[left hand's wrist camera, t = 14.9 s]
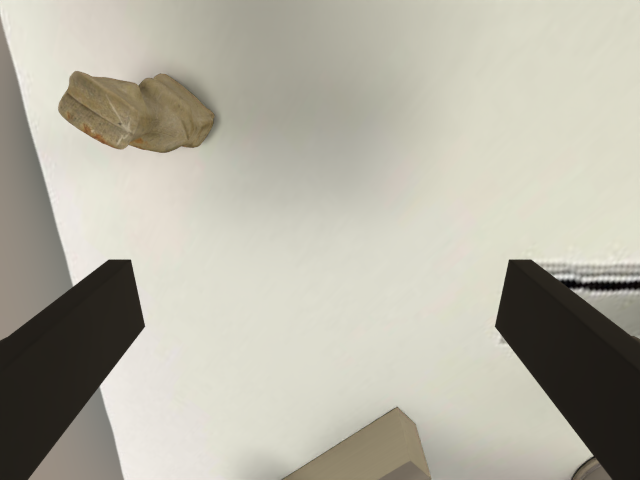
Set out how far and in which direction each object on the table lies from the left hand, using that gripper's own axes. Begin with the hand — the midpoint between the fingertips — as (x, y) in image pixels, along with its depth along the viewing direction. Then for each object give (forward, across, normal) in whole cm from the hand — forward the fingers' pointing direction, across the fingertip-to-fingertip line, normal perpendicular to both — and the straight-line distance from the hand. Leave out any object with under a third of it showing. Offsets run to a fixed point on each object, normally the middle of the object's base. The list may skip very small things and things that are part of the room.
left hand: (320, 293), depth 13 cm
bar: (+29, +4, -46) cm, 54 cm away
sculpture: (+29, -14, +5) cm, 33 cm away
